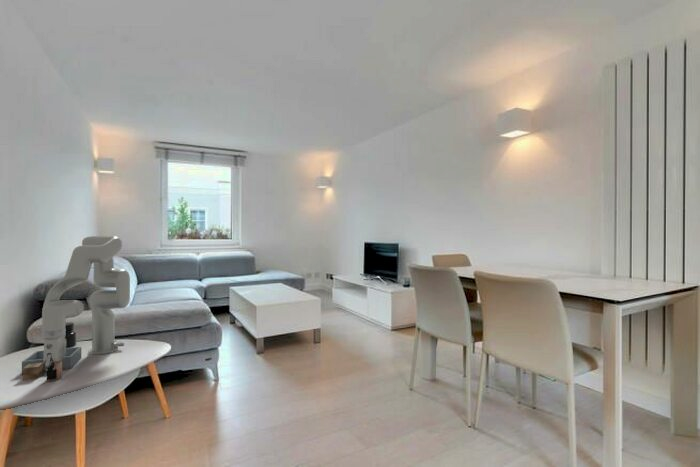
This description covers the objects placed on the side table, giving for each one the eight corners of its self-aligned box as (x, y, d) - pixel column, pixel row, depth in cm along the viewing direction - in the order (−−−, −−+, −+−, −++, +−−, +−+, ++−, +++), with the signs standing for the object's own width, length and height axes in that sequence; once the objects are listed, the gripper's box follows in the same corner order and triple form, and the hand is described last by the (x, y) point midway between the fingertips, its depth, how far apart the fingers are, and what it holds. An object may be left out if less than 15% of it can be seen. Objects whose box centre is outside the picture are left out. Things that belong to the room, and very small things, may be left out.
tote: (81, 358, 172) (81, 346, 172) (71, 368, 159) (71, 356, 159) (36, 362, 165) (36, 351, 165) (21, 374, 152) (21, 361, 152)
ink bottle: (51, 347, 188) (51, 324, 188) (70, 342, 196) (70, 321, 196) (60, 350, 184) (60, 327, 183) (79, 345, 191) (79, 323, 191)
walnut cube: (43, 374, 153) (43, 362, 153) (38, 378, 148) (38, 366, 148) (28, 375, 151) (28, 364, 151) (23, 380, 146) (23, 368, 146)
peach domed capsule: (64, 375, 151) (63, 359, 151) (59, 379, 146) (59, 363, 146) (49, 377, 149) (49, 360, 149) (44, 381, 145) (44, 364, 144)
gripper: (57, 338, 141) (57, 383, 141) (72, 327, 157) (72, 367, 157) (33, 340, 138) (34, 386, 139) (51, 329, 154) (51, 370, 154)
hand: (54, 376), depth 148 cm, fingers closed on peach domed capsule, 5 cm apart
